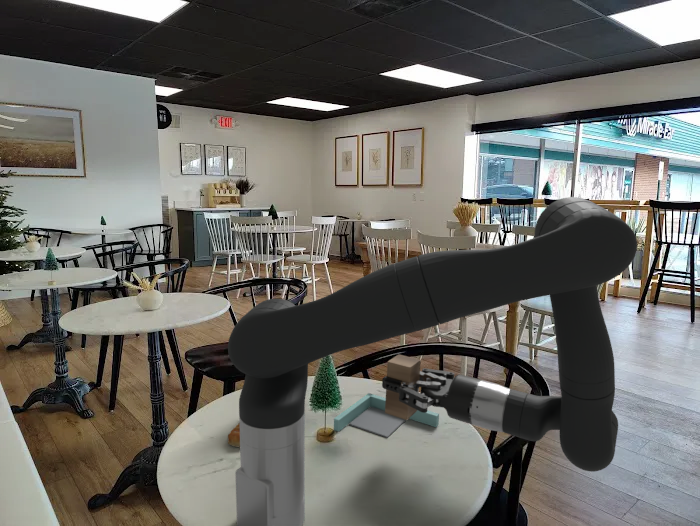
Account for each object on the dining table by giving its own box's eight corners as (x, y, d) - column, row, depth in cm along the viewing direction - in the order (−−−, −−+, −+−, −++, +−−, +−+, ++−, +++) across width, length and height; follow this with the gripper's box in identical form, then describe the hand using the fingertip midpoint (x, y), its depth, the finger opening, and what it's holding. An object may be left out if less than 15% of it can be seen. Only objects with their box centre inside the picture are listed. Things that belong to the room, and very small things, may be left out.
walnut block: (407, 420, 84) (410, 367, 82) (384, 413, 86) (387, 361, 84) (417, 410, 87) (420, 359, 86) (395, 403, 90) (398, 354, 88)
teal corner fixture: (409, 457, 86) (410, 444, 86) (333, 429, 95) (333, 418, 95) (438, 424, 98) (439, 413, 97) (368, 403, 107) (368, 393, 106)
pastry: (243, 455, 86) (242, 436, 86) (219, 443, 90) (218, 424, 89) (278, 433, 94) (278, 415, 93) (255, 423, 98) (254, 406, 97)
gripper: (494, 368, 83) (407, 347, 92) (468, 397, 71) (371, 370, 80) (490, 407, 85) (405, 383, 94) (464, 442, 73) (369, 410, 82)
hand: (390, 377), depth 87 cm, fingers closed on walnut block, 4 cm apart
